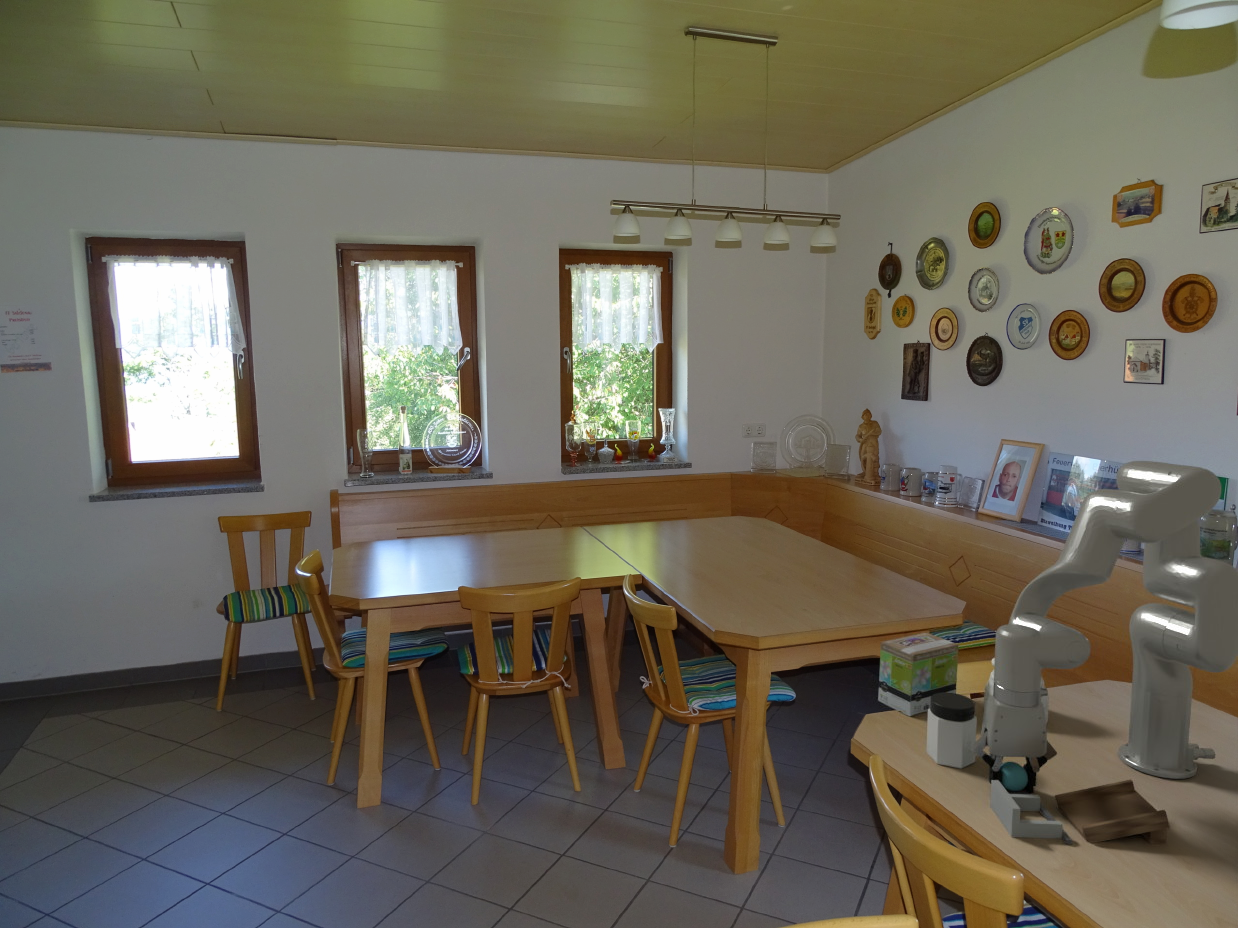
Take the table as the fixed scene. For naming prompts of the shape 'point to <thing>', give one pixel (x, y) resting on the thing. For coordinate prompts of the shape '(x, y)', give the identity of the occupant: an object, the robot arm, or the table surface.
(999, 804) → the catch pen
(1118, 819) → the ramp
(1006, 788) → the dark grey disc
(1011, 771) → the ball
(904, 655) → the tea box
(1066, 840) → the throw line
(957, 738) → the jar
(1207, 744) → the table surface
